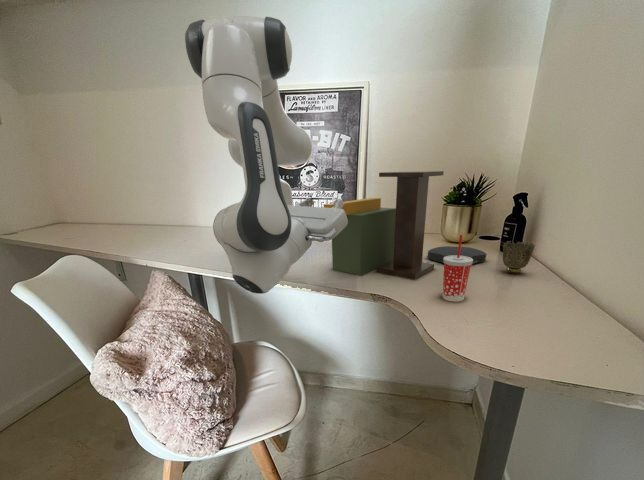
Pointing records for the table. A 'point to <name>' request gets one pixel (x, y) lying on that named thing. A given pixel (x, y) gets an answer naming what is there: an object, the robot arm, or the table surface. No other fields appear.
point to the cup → (516, 256)
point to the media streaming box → (445, 251)
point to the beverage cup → (456, 275)
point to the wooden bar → (359, 205)
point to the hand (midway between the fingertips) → (325, 200)
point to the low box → (365, 241)
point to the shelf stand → (409, 224)
